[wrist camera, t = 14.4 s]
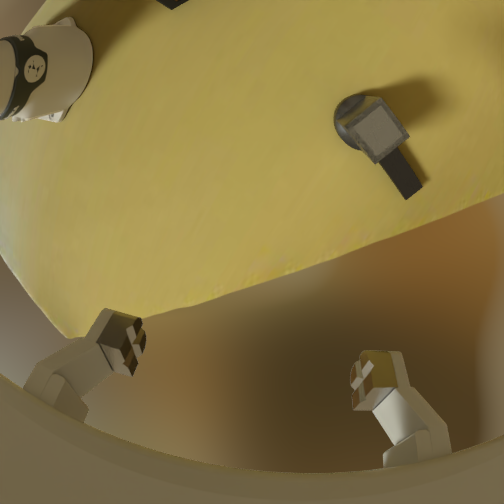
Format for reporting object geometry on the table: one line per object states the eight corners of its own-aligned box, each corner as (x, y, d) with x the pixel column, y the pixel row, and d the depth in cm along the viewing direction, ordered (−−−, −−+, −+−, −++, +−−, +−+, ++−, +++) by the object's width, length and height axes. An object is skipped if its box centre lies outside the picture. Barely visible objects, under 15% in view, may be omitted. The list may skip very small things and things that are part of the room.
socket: (335, 120, 29) (344, 126, 24) (366, 95, 27) (381, 97, 22) (362, 151, 30) (375, 164, 25) (391, 127, 28) (409, 136, 23)
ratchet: (322, 117, 31) (326, 121, 26) (362, 84, 27) (373, 83, 23) (392, 204, 35) (404, 220, 31) (428, 175, 32) (444, 189, 28)
